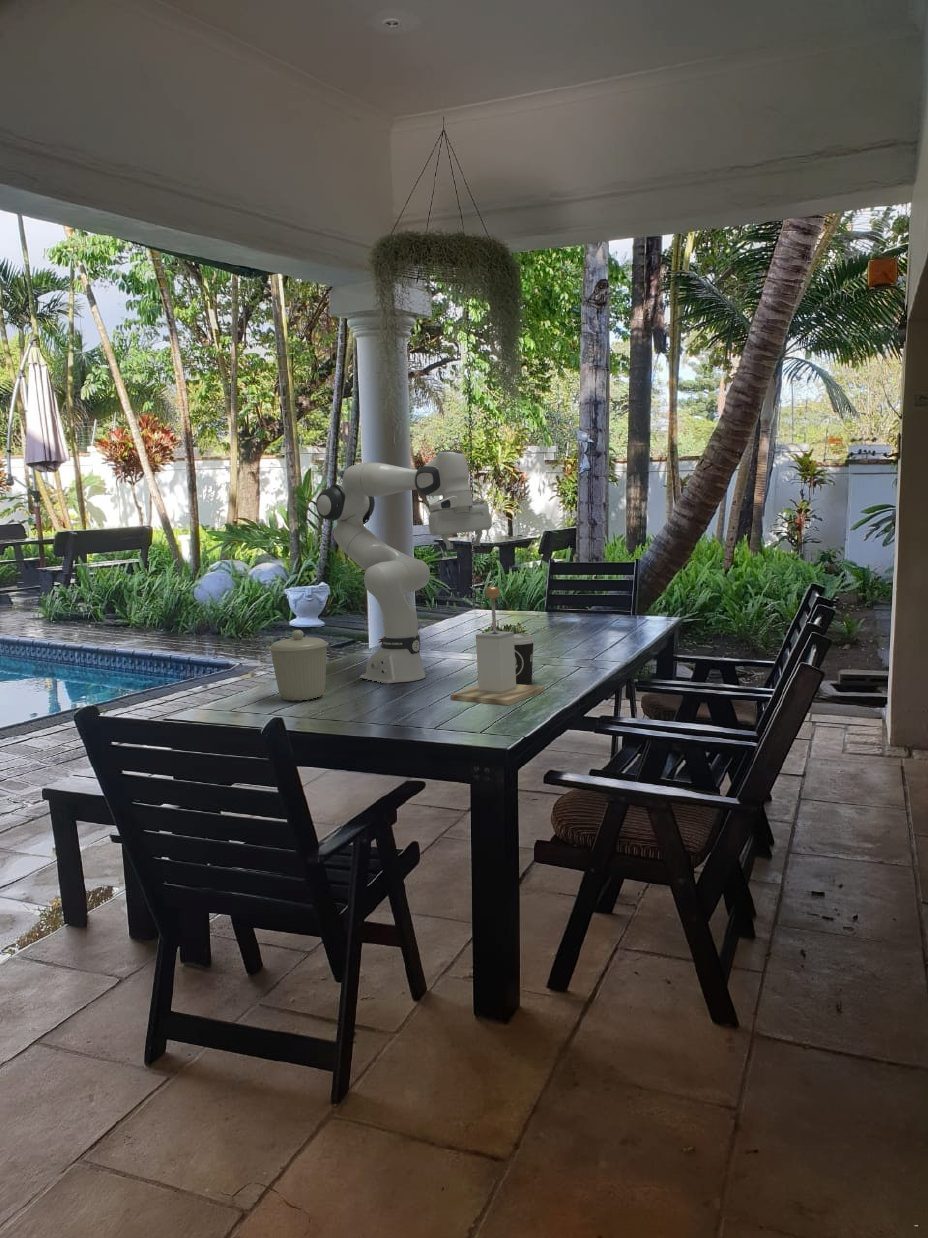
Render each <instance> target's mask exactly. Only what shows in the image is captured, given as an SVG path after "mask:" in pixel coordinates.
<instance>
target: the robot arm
mask: <svg viewBox="0 0 928 1238" xmlns="http://www.w3.org/2000/svg"><path fill="white" fill-rule="evenodd" d="M466 458H467V457H466V456H465V454H464V452H463V451H462V450H458V449H457V450H456V449H455V450H454V449H449V450H448V449H442V450H440V451H438V453H437V455H436V456H435V457H434V458H433V459H432V460H431V461H430V462H428V463H427V464H425V465H422V466H421V467H419V468H418V469H412V468H407V467H402V466H397V465H393V464H388V463H382V462H362V463H357V464H354V465H353V464H352V465H351V466H349V467H347V468H346V470H345V471H344V473H343V476H342V482H341V483H340V484H337V483H333V484H332V485H331V486H329V487H328V488H326V489H324V490H322V491H321V492H320V493H319V494H318V496H317V498H316V501H315V508H316V512H317V514H318V515H319V516H320V518H322V519H324V520H325V521H331V522H333V521H334V522H335V521H336V522H337V524H336V525H335V527H334V529H333V539H334V541H335V543H336V544H337V545H338V546H339V547H340V549H341V550H342V552H344V554H346V555H347V556H348V557H349V558H350V559H351V560H352V561H353V562H354V563H356V564H357V565H358V566H359V567H360V568H361V569H363V570H364V571H365V572H364V576H363V584H364V587H365V589H366V590H367V591H368V593H369V594H370V595H372V596H373V597H374V598H375V599H376V601H377V603H378V605H379V607H380V611H381V614H382V620H383V634H384V636H383V637H382V638H379V639H378V643H379V644H380V643H381V645H380V648H379V649H377V651H376V652H375V653H374V654H373V655H372V656H370V658H368V659H367V661H366V665H365V666H366V668H365V670H366V671H365V673H362V674H360V675H359V679H360V678H365V679H368V680H372V681H371V682H374V681H377V682H376V683H380V682H381V683H382V684H392V683H393V684H394V683H406V682H414V681H420V680H422V679H424V678H426V677H427V675H426V672H425V670H424V667H423V663H422V662H423V661H422V657H421V650H420V649H421V638H420V636H421V635H420V634H419V625H418V622H419V621H418V613H417V611H416V609H415V608H414V607H413V606H411V605H410V604H409V602H408V601H407V597H406V594H407V593H413V592H417V591H419V590H420V589H423V588H424V587H426V586H427V585H428V584H429V581H430V579H431V571H430V570H431V569H430V568H429V565H428V564H427V563H426V562H425V561H424V560H422V559H418V558H415V557H412V556H409V555H407V554H405V553H403V552H402V551H399V550H398V549H396V548H393V547H392V546H389V545H388V544H386V543H385V542H383V540H381V539H380V538H379V537H377V536H376V535H375V534H374V533H373V532H372V531H371V530H369V529H368V528H367V527H366V526H365V524H366V523H368V522H369V521H370V518H371V516H372V514H373V513H374V510H375V505H376V503H375V497H385V496H389V495H390V496H391V495H395V494H399V493H404V492H408V491H409V492H410V491H414V490H417V492H418V493H419V494H420V495H422V496H427V497H439V496H440V497H442V498H441V499H439V500H437V501H434V502H433V503H431V504H429V505H428V510H429V511H430V513H429V514H428V515H429V516H428V527H429V528H428V529H429V533H430V534H431V536H432V537H435V536H436V537H437V536H440V537H441V539H442V541H443V542H444V544H445V545H446V550H447V551H448V550H453V549H454V542H450V540H449V537H450V535H452V534H453V535H454V534H460V533H461V534H462V533H469V532H474V533H475V535H476V537H475V539H474V540H473V542H472V543H473V546H474V547H478V546H479V547H481V539H482V536H483V531H487V530H491V529H492V527H493V523H492V517H491V514H490V508H489V503H487V501H485V500H483V499H481V500H473V497H472V489H471V486H470V484H469V482H470V481H469V480H470V474H469V473H470V472H469V468H468V467H469V466H468V463H467V462H468V461H467V459H466ZM368 680H367V681H368Z"/></svg>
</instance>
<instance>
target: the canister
mask: <svg viewBox="0 0 928 1238" xmlns="http://www.w3.org/2000/svg"><path fill="white" fill-rule="evenodd" d="M304 634H305V633H304V632H303V630H301V629H295V630H293V631H292V632H291V638H287V639H286V638H285V639H280V640H277V641H274V642H273V643H272V644H271V645H270V646H268V648H267V649H268V650H269V651H270V654H271V661H272V664H273V670H274V671H273V672H274V677H275V680H276V685H277V689H278V693H279V695H280V697H281V698H282V699H283V700H284V699H285V701H288V700H306V699H312V700H314V699H313V698H316V699H318V698H317V697H319V698H320V697H322V696H323V694H324V692H325V689H326V688H325V687H326V676H327V675H326V673H327V671H326V670H327V648H328V646H329V642H328V641H326V640H325V639H324V638H323V639H322V638H320V637H309V636H307V637H304ZM321 695H322V696H321Z"/></svg>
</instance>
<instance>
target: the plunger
mask: <svg viewBox="0 0 928 1238" xmlns="http://www.w3.org/2000/svg"><path fill="white" fill-rule="evenodd" d="M500 591H501V590H500V586H486V587H485V598H486V599H490V600H491V621H492V631H493V634H496V631H497V616H496V600H495V599H498V598H500V597H501V595H500V594H501V593H500Z"/></svg>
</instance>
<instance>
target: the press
mask: <svg viewBox="0 0 928 1238" xmlns="http://www.w3.org/2000/svg"><path fill="white" fill-rule="evenodd" d="M514 634H515V632H514V631H503V630H501V631H500V630H496V634H493V630H490V631H486V632H481V633H479V634H475V646H476V649H475V650H476V667H477V682H478V683H477V685H478V689H479V692H482V693H493V694H504V693H507V692H509V691H512V690H515V689H516V671H515V650H514Z"/></svg>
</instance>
